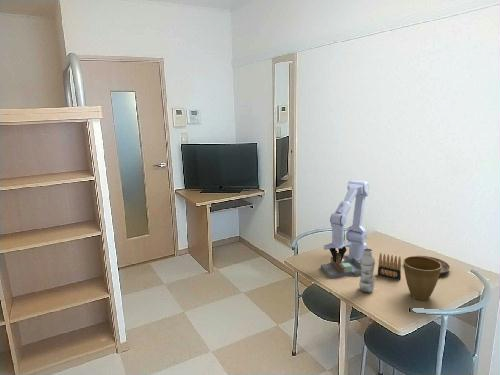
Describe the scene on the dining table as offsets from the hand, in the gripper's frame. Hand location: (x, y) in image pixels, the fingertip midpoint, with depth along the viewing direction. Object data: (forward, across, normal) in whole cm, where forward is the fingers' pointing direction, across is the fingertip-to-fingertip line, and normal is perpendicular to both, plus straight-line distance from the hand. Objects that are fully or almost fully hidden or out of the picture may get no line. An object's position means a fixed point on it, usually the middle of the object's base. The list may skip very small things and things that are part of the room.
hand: (337, 261), depth 178 cm
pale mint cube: (+4, +3, -4) cm, 6 cm away
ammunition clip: (+6, +22, -12) cm, 26 cm away
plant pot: (+6, +25, -31) cm, 40 cm away
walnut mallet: (+4, 0, 0) cm, 4 cm away
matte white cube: (+4, +3, +4) cm, 6 cm away
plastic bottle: (+6, +5, -21) cm, 22 cm away
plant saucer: (+6, +45, -9) cm, 46 cm away
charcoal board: (+6, 0, 0) cm, 6 cm away
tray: (+6, +9, 0) cm, 11 cm away
